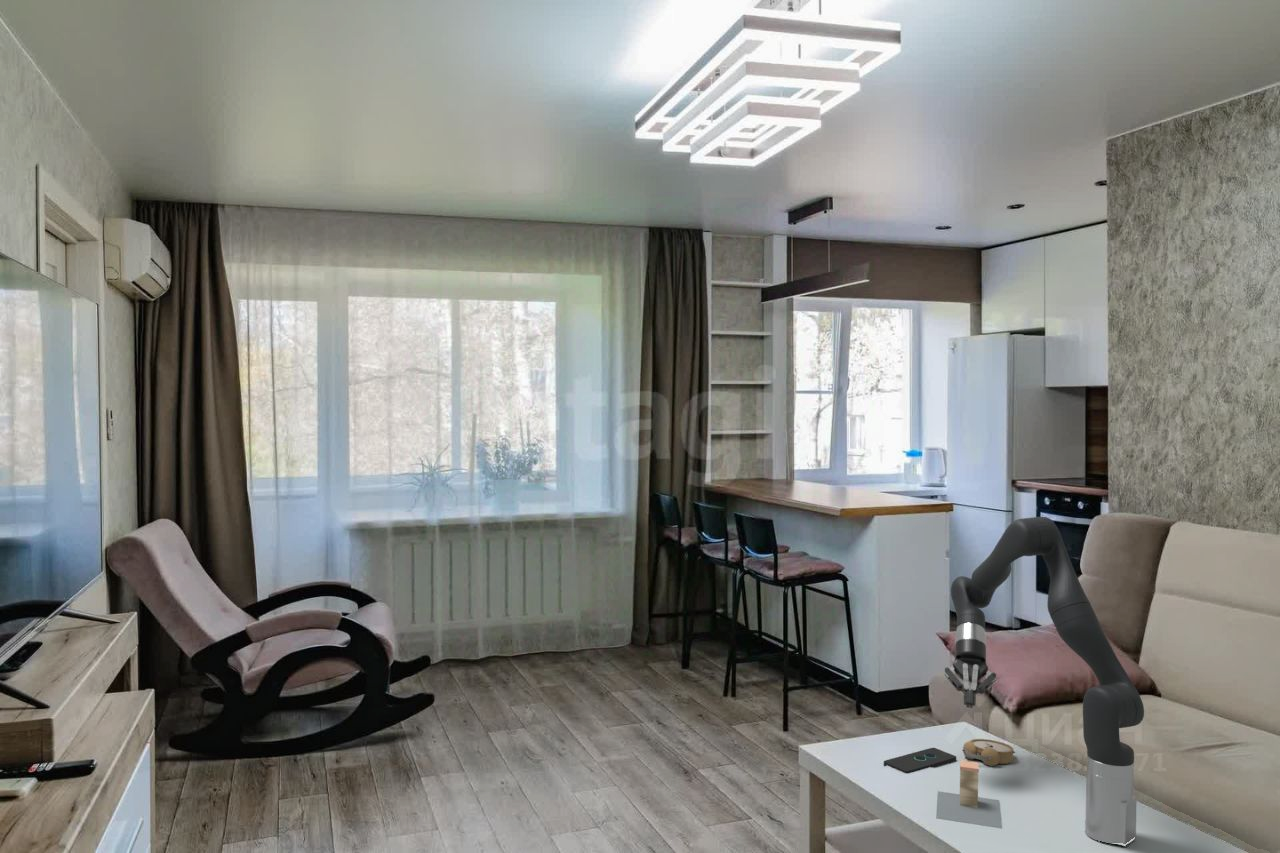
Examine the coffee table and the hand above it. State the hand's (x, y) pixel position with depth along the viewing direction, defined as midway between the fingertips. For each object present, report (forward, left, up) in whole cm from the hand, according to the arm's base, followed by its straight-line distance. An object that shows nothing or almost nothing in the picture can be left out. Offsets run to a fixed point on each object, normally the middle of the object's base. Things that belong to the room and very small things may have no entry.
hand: (969, 706), depth 227 cm
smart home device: (+16, -5, -21) cm, 27 cm away
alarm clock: (+7, -22, -21) cm, 31 cm away
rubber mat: (-7, +13, -20) cm, 25 cm away
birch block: (-5, +10, -20) cm, 23 cm away
